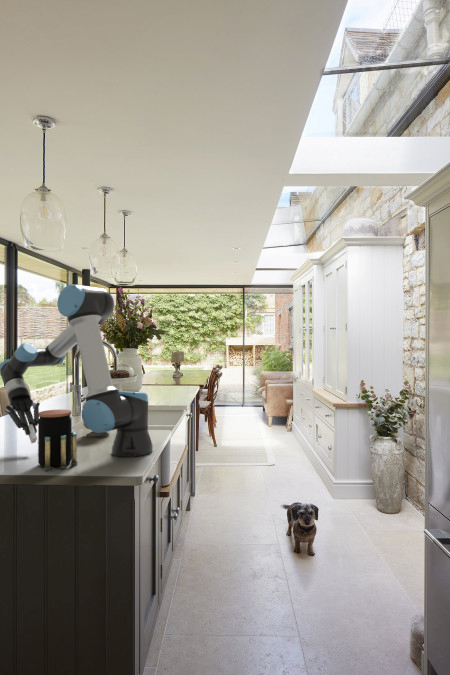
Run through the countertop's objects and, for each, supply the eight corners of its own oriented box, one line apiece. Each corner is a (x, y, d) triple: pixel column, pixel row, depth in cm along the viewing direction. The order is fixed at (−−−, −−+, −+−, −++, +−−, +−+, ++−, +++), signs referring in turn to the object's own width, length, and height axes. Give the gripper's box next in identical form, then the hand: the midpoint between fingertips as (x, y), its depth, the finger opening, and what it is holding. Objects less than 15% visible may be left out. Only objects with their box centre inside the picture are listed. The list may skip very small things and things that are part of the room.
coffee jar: (53, 458, 156) (53, 408, 156) (78, 461, 153) (78, 410, 153) (31, 467, 146) (31, 413, 146) (57, 470, 143) (57, 415, 143)
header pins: (43, 470, 142) (43, 436, 142) (75, 463, 150) (75, 431, 150) (48, 473, 140) (48, 438, 140) (80, 466, 147) (80, 433, 147)
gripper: (31, 396, 181) (48, 443, 169) (-2, 400, 171) (13, 449, 160) (36, 385, 177) (54, 431, 165) (2, 387, 168) (18, 437, 156)
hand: (34, 440), depth 162 cm, fingers closed
